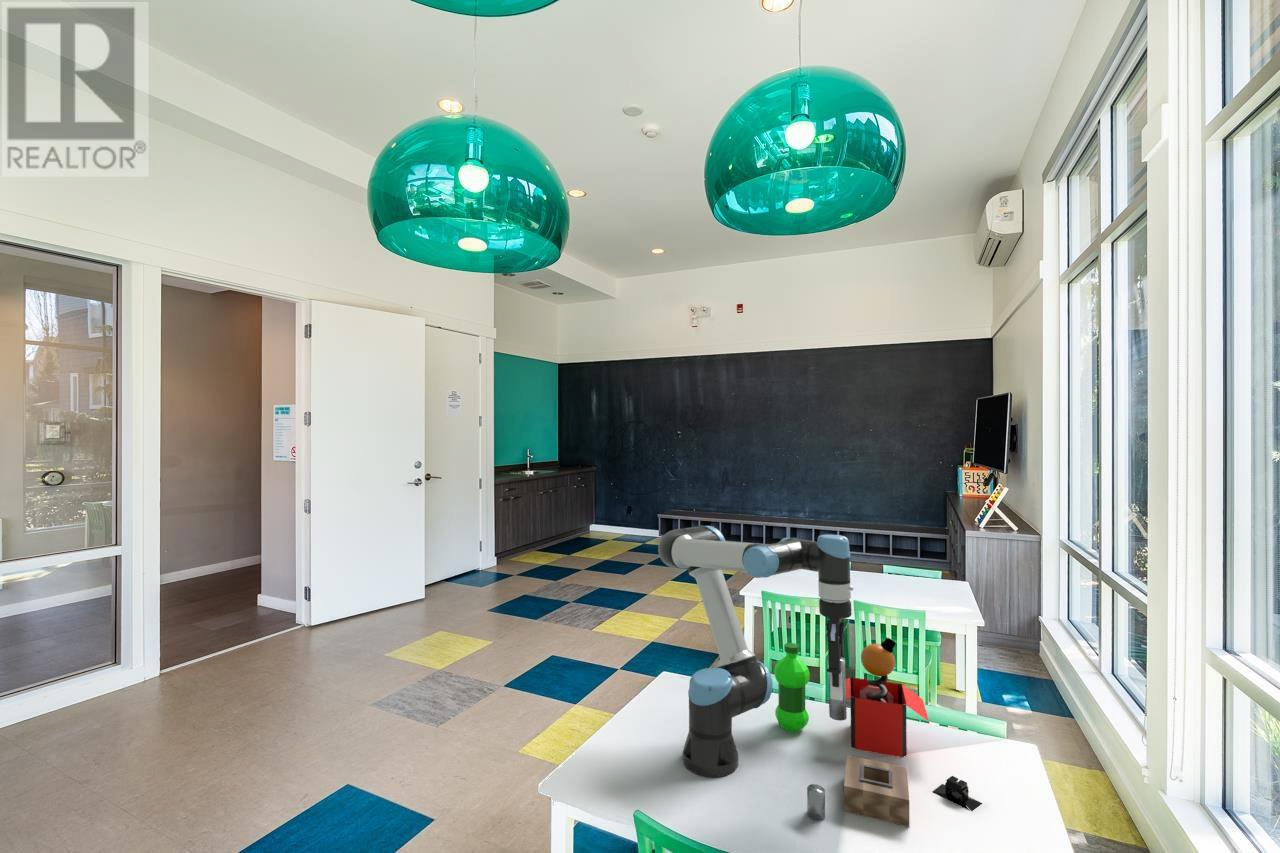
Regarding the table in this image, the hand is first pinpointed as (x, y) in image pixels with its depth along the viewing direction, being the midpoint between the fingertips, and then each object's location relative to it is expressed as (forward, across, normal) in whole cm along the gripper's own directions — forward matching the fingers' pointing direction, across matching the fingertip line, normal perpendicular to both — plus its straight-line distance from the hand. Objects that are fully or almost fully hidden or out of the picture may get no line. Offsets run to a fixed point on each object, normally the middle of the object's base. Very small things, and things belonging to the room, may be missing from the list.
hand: (837, 695), depth 141 cm
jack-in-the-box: (+25, +35, -7) cm, 43 cm away
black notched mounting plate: (+27, +14, -26) cm, 39 cm away
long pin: (+5, 0, 0) cm, 5 cm away
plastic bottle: (+25, +31, +17) cm, 43 cm away
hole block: (+26, +4, -8) cm, 27 cm away
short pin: (+25, -8, +5) cm, 27 cm away
